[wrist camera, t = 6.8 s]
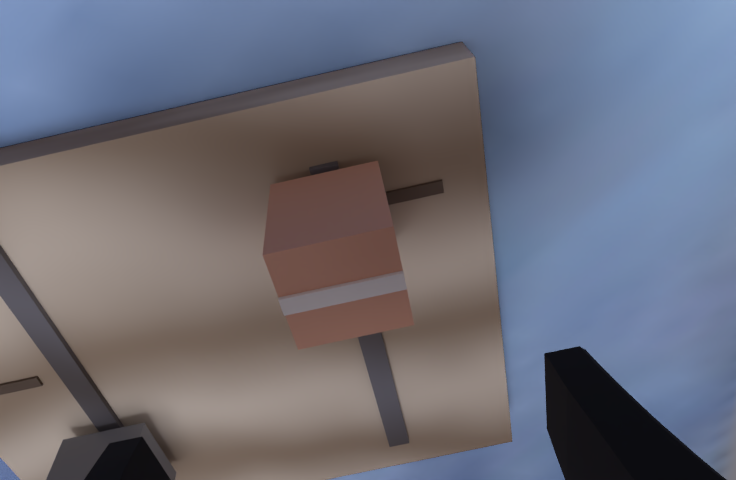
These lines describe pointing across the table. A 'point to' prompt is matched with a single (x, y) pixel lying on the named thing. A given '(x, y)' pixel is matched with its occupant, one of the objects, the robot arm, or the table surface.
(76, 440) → the fader
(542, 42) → the table surface
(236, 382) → the console
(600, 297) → the table surface
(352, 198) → the fader
